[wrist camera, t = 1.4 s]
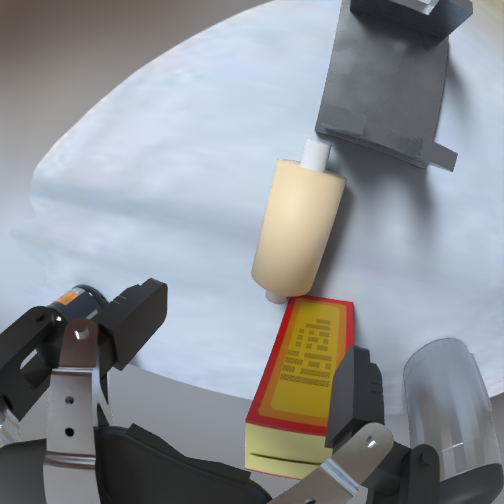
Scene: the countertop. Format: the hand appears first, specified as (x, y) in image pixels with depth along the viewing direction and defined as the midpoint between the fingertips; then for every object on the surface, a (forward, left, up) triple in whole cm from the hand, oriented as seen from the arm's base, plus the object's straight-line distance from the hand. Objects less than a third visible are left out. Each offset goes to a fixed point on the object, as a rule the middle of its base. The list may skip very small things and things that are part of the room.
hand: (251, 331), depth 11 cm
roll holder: (-4, -15, -16) cm, 22 cm away
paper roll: (0, 0, -16) cm, 16 cm away
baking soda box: (-5, +12, -16) cm, 21 cm away
